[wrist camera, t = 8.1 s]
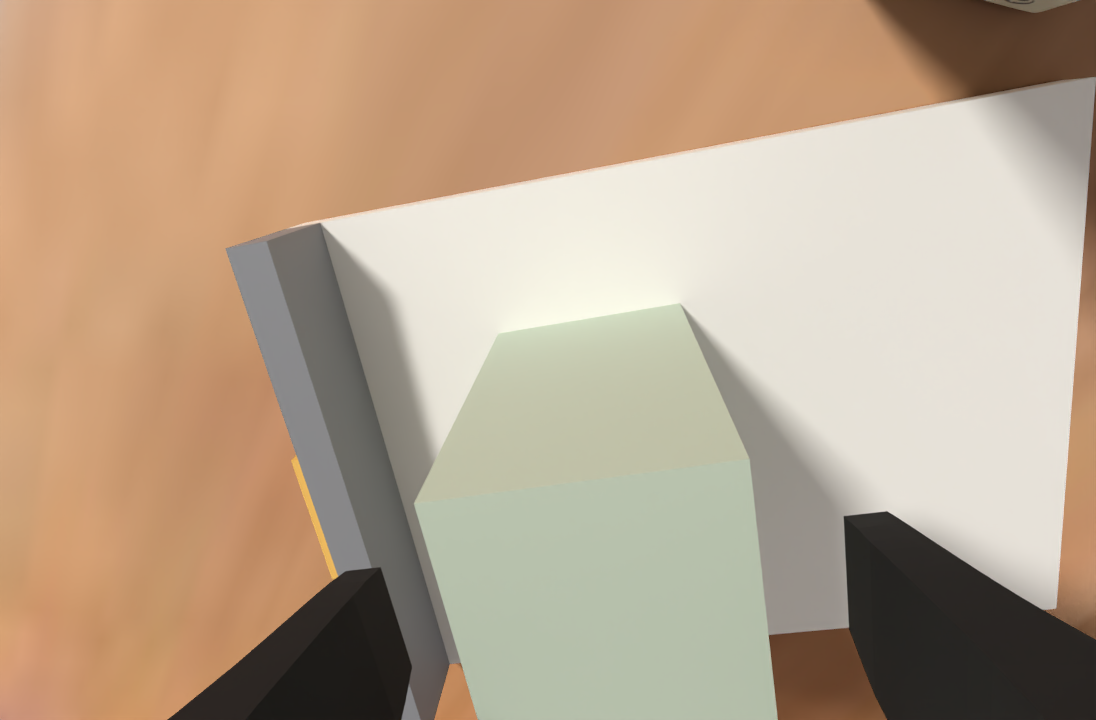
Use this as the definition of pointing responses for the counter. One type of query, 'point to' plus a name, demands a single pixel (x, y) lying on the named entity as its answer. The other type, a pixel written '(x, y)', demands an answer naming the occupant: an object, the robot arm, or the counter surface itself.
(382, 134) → the counter surface
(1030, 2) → the skincare box
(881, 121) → the shelf board
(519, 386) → the carton
